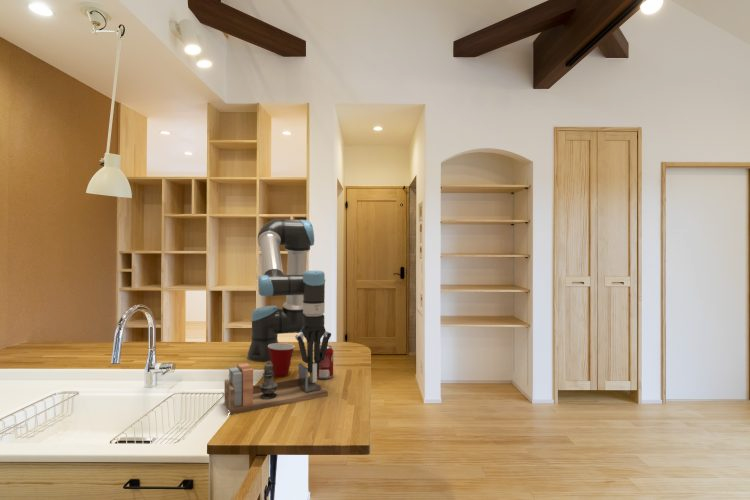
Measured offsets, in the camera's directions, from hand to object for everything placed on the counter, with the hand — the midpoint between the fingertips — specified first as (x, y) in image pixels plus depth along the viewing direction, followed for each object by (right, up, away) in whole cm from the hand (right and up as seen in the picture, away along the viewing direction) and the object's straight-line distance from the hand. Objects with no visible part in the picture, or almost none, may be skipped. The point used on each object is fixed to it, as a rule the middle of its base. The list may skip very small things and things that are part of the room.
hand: (313, 381), depth 140 cm
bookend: (-1, -2, -1) cm, 2 cm away
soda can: (+2, -4, +17) cm, 17 cm away
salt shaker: (-14, -3, -8) cm, 16 cm away
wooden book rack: (-11, -4, -7) cm, 13 cm away
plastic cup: (-16, -4, +19) cm, 25 cm away
